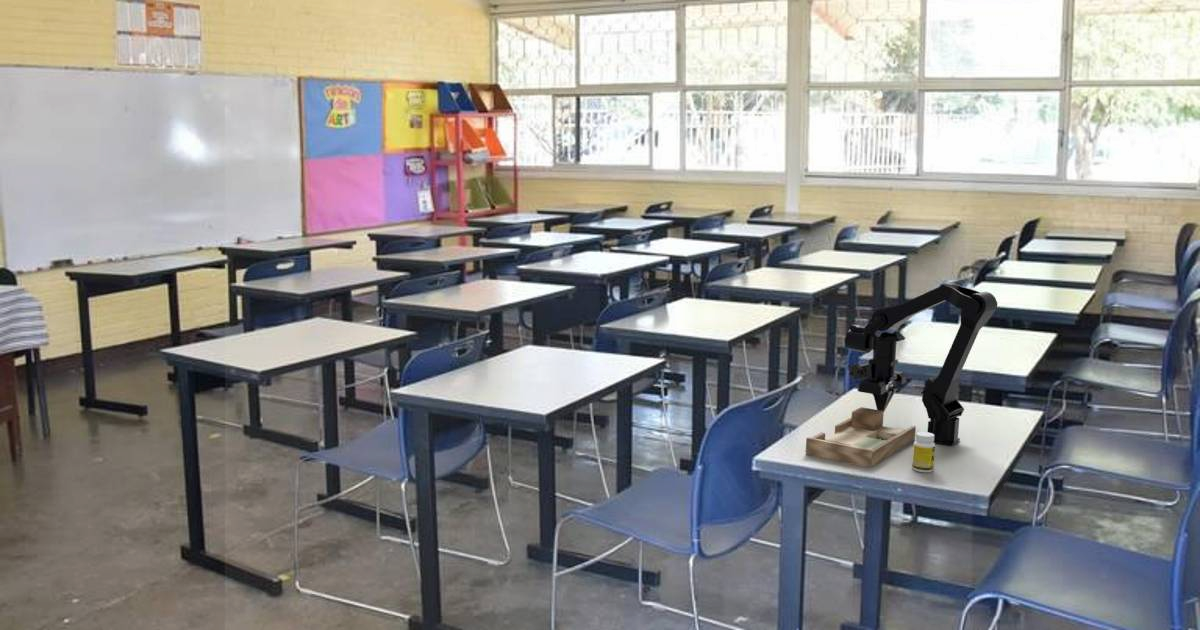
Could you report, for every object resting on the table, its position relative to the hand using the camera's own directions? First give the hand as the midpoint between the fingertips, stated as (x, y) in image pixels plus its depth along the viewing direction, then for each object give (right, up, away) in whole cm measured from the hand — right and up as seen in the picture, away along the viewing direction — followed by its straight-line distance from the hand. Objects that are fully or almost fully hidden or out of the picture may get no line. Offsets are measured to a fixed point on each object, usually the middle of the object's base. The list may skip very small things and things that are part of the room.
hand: (880, 414), depth 271 cm
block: (-5, -3, -7) cm, 9 cm away
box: (-9, -6, -17) cm, 20 cm away
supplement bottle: (0, -10, -34) cm, 36 cm away
